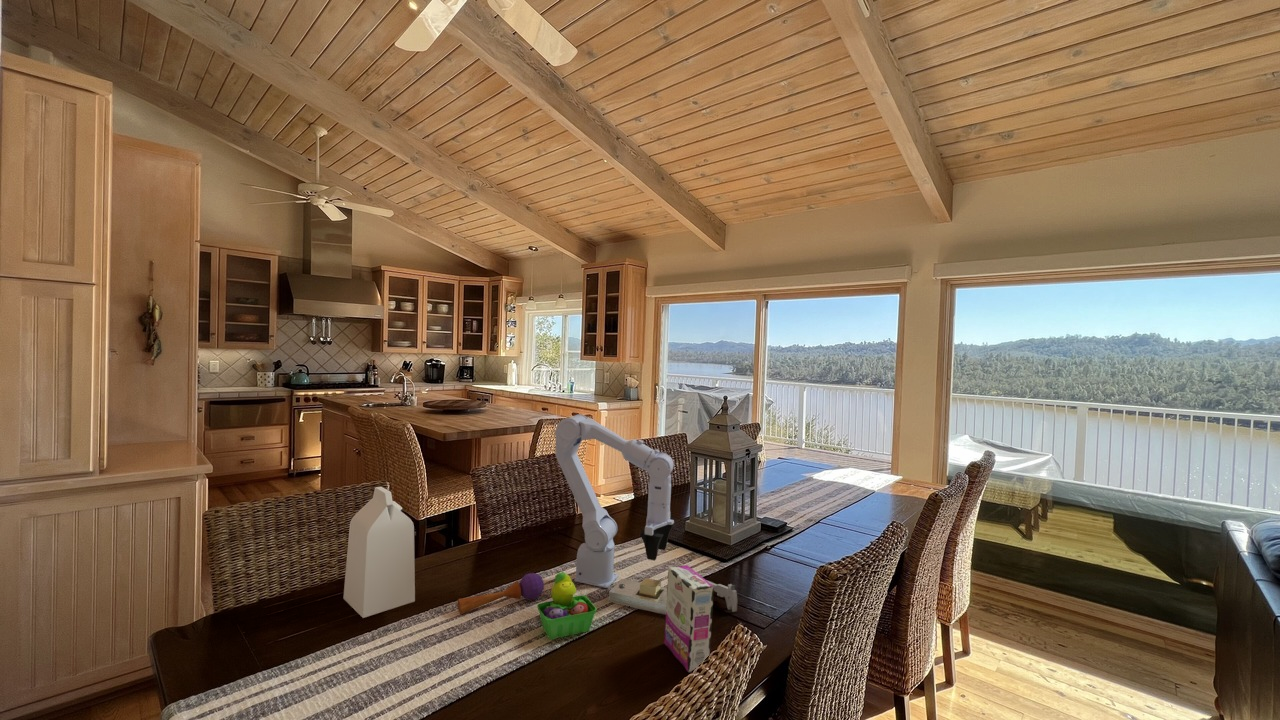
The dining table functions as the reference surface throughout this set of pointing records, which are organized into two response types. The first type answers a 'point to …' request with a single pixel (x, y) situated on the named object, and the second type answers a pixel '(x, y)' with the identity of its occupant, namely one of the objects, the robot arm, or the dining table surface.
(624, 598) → the white slotted plate
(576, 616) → the fruit basket
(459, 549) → the dining table surface
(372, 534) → the milk
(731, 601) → the caliper
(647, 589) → the block
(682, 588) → the candy bar box
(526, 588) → the purple maraca
